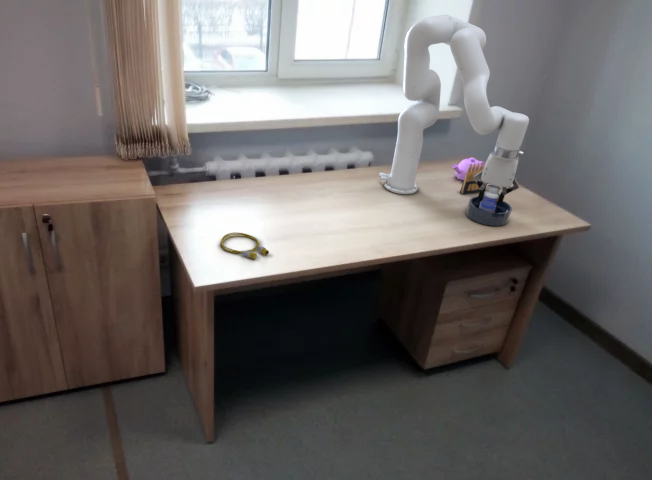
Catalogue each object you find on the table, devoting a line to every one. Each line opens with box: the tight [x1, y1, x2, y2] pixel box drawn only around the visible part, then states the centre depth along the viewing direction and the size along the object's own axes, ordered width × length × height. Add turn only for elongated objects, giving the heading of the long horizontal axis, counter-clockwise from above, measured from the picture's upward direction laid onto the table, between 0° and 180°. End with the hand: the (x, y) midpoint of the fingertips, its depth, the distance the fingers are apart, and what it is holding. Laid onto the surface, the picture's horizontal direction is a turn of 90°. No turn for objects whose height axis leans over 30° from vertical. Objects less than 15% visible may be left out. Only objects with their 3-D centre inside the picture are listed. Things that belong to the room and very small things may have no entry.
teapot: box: [452, 157, 486, 182], centre depth 212 cm, size 10×15×9 cm
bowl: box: [465, 195, 513, 227], centre depth 185 cm, size 14×14×5 cm
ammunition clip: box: [459, 161, 488, 195], centre depth 202 cm, size 11×2×12 cm, turn 111°
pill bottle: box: [479, 184, 501, 213], centre depth 183 cm, size 5×5×10 cm
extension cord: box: [220, 232, 270, 260], centre depth 158 cm, size 12×16×2 cm
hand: (489, 201), depth 183 cm, fingers closed on pill bottle, 5 cm apart
